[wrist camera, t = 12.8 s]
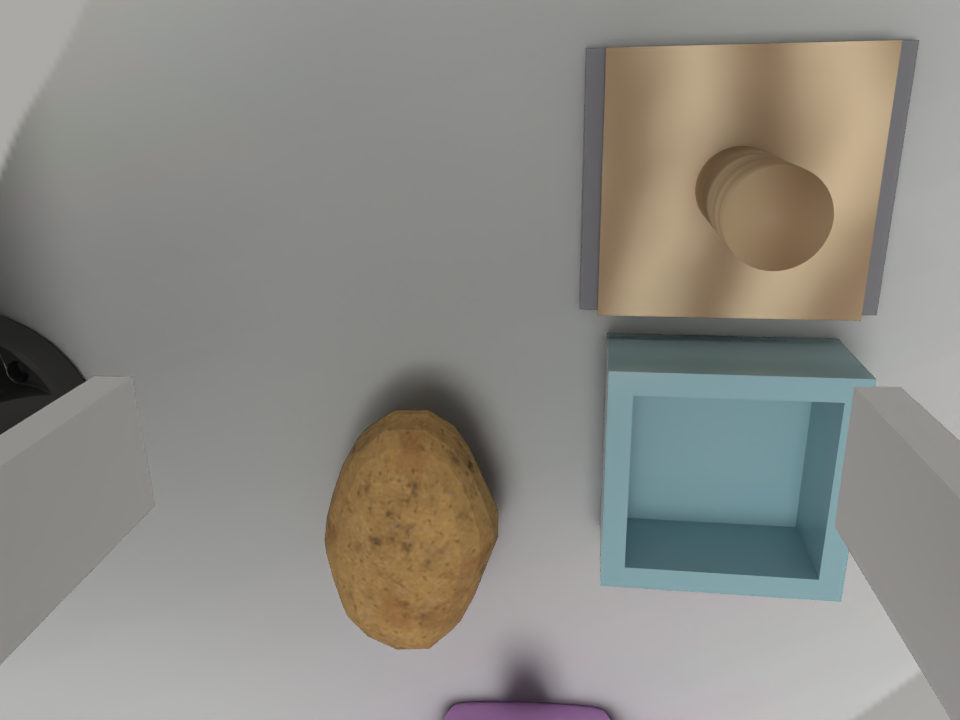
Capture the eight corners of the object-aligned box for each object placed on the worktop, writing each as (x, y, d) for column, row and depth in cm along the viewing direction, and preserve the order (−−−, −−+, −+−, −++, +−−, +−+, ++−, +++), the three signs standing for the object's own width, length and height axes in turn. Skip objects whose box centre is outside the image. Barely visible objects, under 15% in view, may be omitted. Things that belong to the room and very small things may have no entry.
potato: (518, 390, 45) (502, 452, 37) (494, 595, 50) (476, 686, 42) (352, 367, 46) (304, 423, 38) (344, 570, 51) (301, 655, 43)
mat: (580, 306, 43) (579, 309, 42) (586, 48, 38) (586, 48, 38) (872, 312, 41) (876, 315, 40) (914, 40, 36) (919, 40, 36)
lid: (597, 309, 42) (598, 375, 33) (606, 48, 38) (609, 37, 28) (854, 315, 40) (932, 385, 31) (894, 40, 36) (998, 26, 27)
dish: (600, 525, 47) (600, 585, 41) (607, 333, 43) (608, 371, 37) (810, 537, 45) (840, 601, 40) (838, 338, 41) (876, 379, 36)
